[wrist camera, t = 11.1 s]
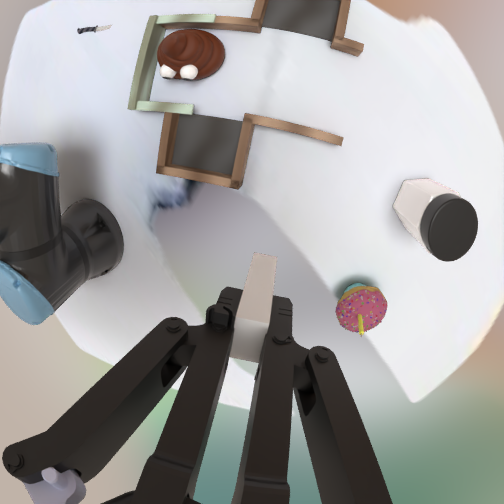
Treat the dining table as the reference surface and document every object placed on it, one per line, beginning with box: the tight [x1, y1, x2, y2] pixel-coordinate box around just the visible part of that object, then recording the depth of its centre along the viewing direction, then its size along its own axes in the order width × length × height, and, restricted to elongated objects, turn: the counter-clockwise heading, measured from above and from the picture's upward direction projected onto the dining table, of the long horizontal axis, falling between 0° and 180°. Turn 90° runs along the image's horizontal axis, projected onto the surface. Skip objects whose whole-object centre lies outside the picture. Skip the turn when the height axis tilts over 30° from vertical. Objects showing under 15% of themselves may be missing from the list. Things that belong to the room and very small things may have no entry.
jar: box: [393, 178, 478, 261], centre depth 31 cm, size 9×8×12 cm
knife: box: [78, 25, 112, 34], centre depth 28 cm, size 19×2×1 cm, turn 80°
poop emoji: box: [157, 29, 225, 80], centre depth 27 cm, size 10×8×9 cm
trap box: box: [128, 0, 364, 189], centre depth 30 cm, size 30×34×4 cm
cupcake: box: [336, 283, 387, 337], centre depth 39 cm, size 9×8×12 cm
